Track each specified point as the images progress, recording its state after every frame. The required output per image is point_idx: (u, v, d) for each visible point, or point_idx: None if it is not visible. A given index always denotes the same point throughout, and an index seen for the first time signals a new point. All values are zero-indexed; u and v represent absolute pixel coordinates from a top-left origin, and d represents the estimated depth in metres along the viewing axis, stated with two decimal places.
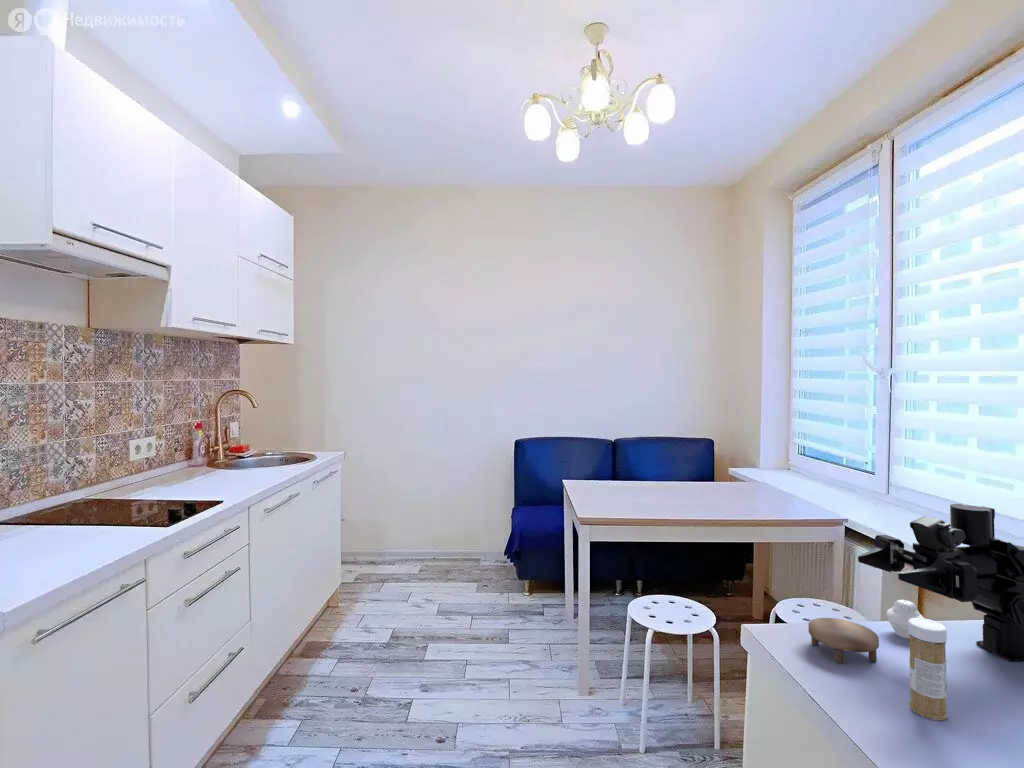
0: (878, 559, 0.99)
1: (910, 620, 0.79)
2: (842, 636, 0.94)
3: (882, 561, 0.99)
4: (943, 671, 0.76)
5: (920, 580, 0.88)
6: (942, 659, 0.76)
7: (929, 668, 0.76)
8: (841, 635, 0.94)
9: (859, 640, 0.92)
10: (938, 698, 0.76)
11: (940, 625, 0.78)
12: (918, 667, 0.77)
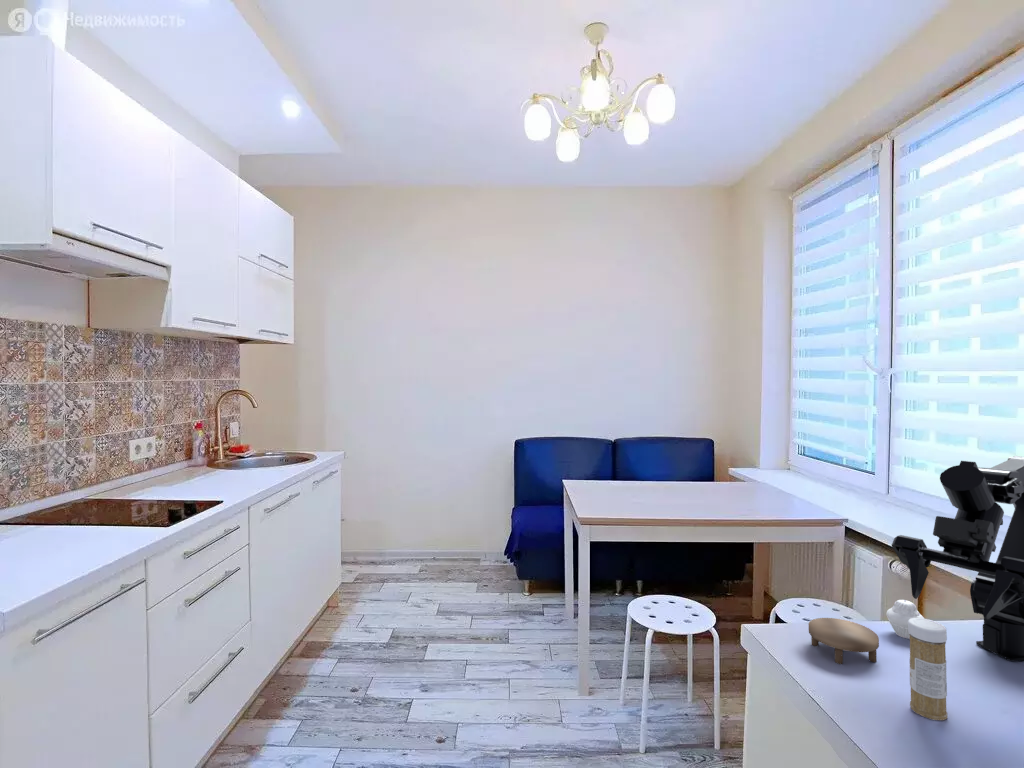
0: (921, 577, 0.89)
1: (910, 620, 0.79)
2: (842, 636, 0.94)
3: (923, 574, 0.89)
4: (943, 671, 0.76)
5: (999, 604, 0.79)
6: (942, 659, 0.76)
7: (929, 668, 0.76)
8: (841, 635, 0.94)
9: (859, 640, 0.92)
10: (938, 698, 0.76)
11: (940, 625, 0.78)
12: (918, 667, 0.77)
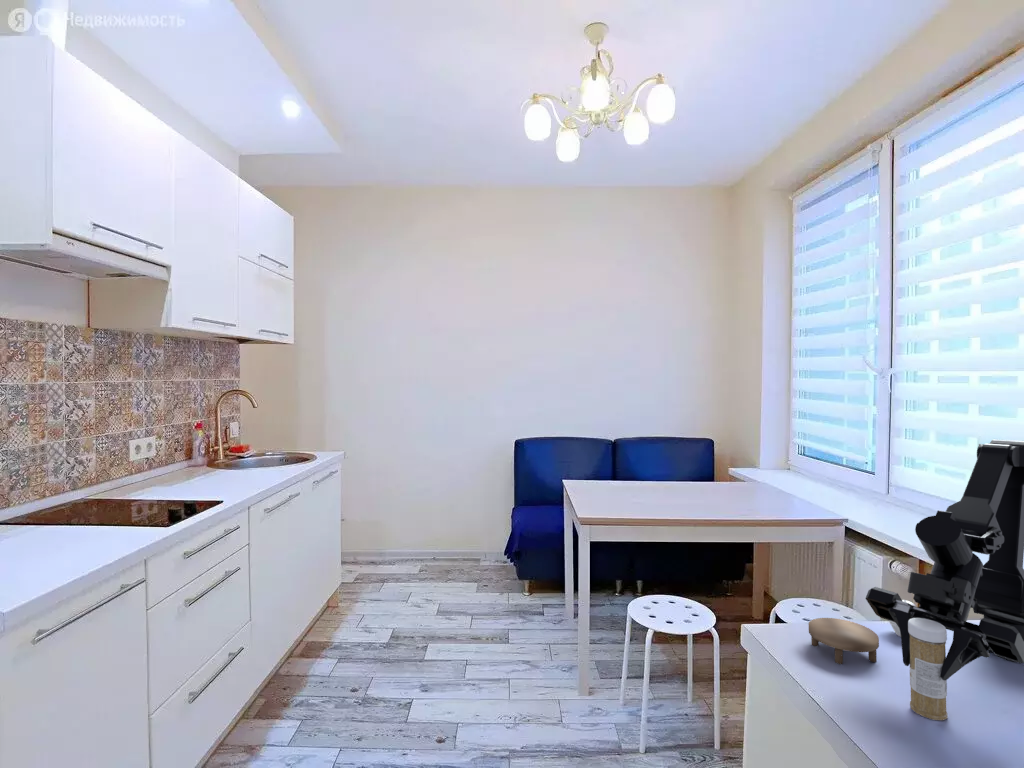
0: None
1: (910, 620, 0.79)
2: (842, 636, 0.94)
3: None
4: None
5: (957, 663, 0.76)
6: (942, 659, 0.76)
7: (929, 668, 0.76)
8: (841, 635, 0.94)
9: (859, 640, 0.92)
10: (938, 698, 0.76)
11: (940, 625, 0.78)
12: (918, 667, 0.77)
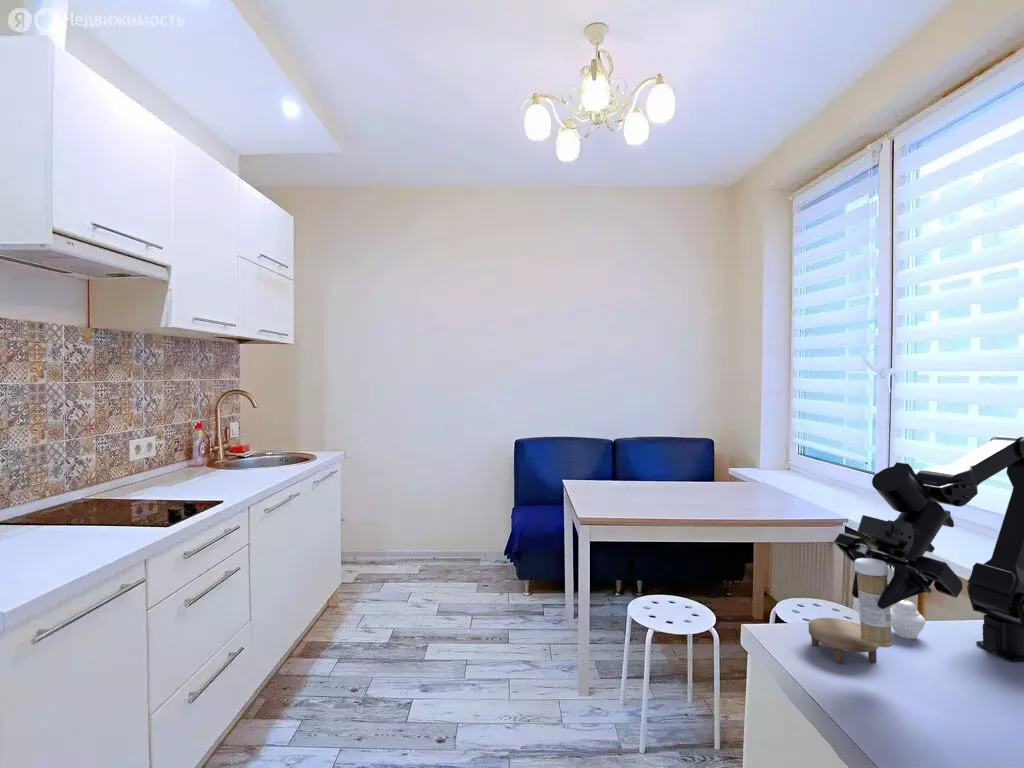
0: None
1: (857, 559, 0.89)
2: (842, 636, 0.94)
3: None
4: None
5: (896, 595, 0.84)
6: (881, 591, 0.85)
7: (869, 599, 0.86)
8: (841, 635, 0.94)
9: (859, 640, 0.92)
10: (878, 626, 0.85)
11: (882, 562, 0.87)
12: (861, 598, 0.87)
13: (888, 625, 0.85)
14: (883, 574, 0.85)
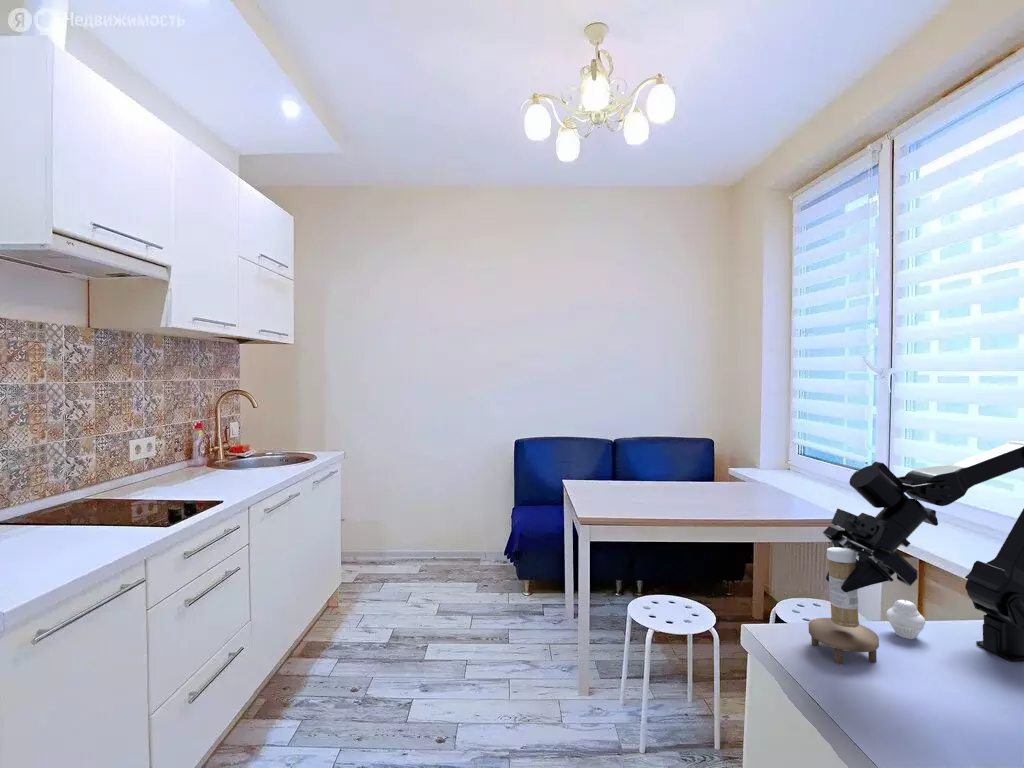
0: None
1: None
2: (842, 636, 0.94)
3: None
4: None
5: (859, 581, 0.93)
6: (846, 577, 0.94)
7: (835, 583, 0.95)
8: (841, 635, 0.94)
9: (859, 640, 0.92)
10: (842, 607, 0.94)
11: (850, 551, 0.95)
12: (830, 582, 0.96)
13: (852, 608, 0.94)
14: (848, 561, 0.94)
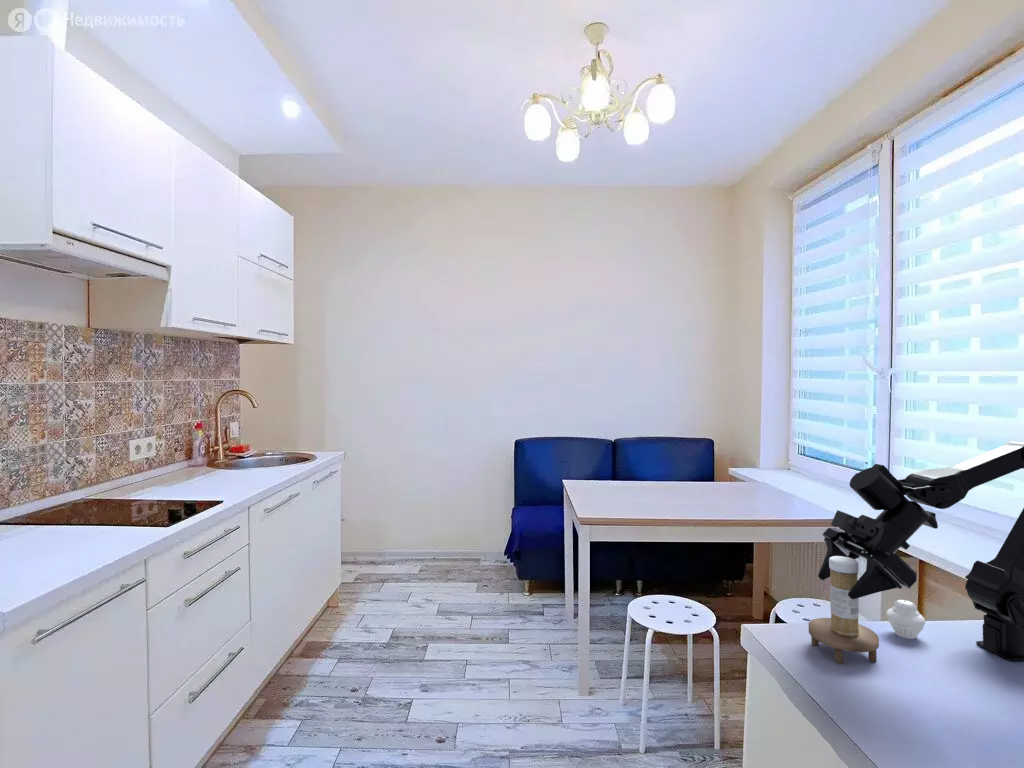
0: None
1: (833, 556, 0.98)
2: (842, 636, 0.94)
3: None
4: (847, 597, 0.94)
5: (867, 588, 0.91)
6: (848, 587, 0.94)
7: (836, 592, 0.95)
8: (841, 635, 0.94)
9: (859, 640, 0.92)
10: (842, 617, 0.94)
11: (853, 561, 0.94)
12: (831, 591, 0.96)
13: (853, 617, 0.93)
14: (850, 572, 0.93)
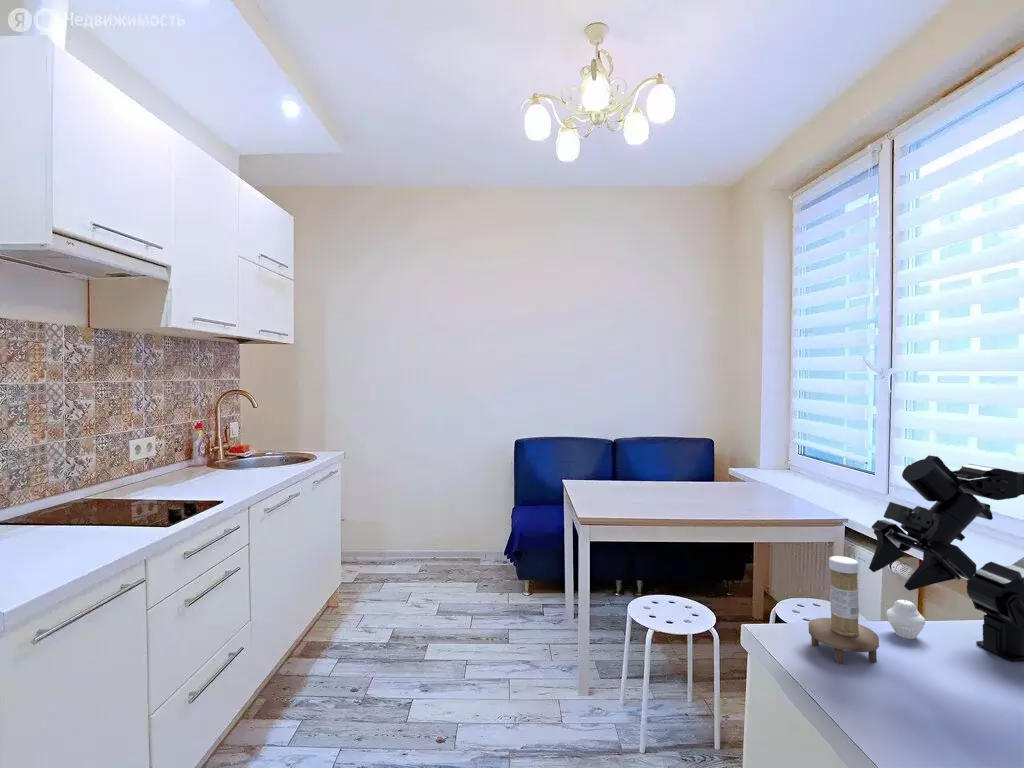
0: (886, 555, 1.01)
1: (833, 556, 0.98)
2: (842, 636, 0.94)
3: (891, 554, 1.01)
4: (847, 597, 0.94)
5: (924, 579, 0.90)
6: (848, 587, 0.94)
7: (836, 593, 0.95)
8: (841, 635, 0.94)
9: (859, 640, 0.92)
10: (842, 617, 0.94)
11: (853, 561, 0.94)
12: (831, 591, 0.96)
13: (853, 617, 0.93)
14: (850, 572, 0.93)
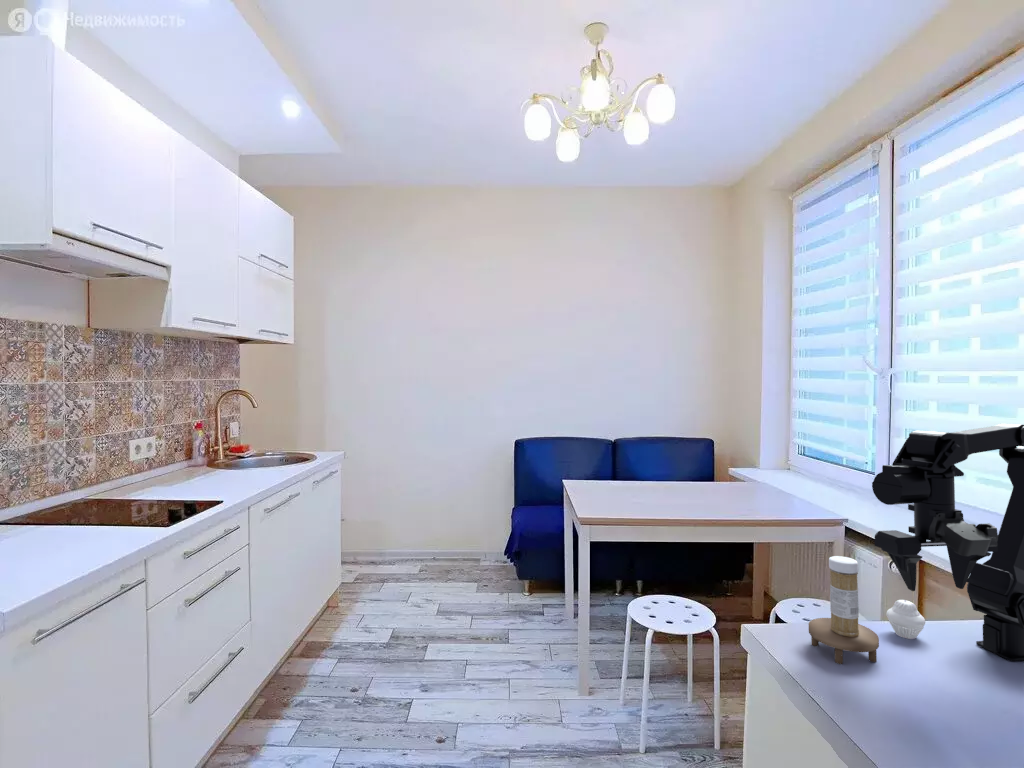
0: None
1: (833, 556, 0.98)
2: (842, 636, 0.94)
3: None
4: (847, 597, 0.94)
5: None
6: (848, 587, 0.94)
7: (836, 593, 0.95)
8: (841, 635, 0.94)
9: (859, 640, 0.92)
10: (842, 617, 0.94)
11: (852, 561, 0.94)
12: (831, 591, 0.96)
13: (853, 617, 0.93)
14: (850, 572, 0.93)
